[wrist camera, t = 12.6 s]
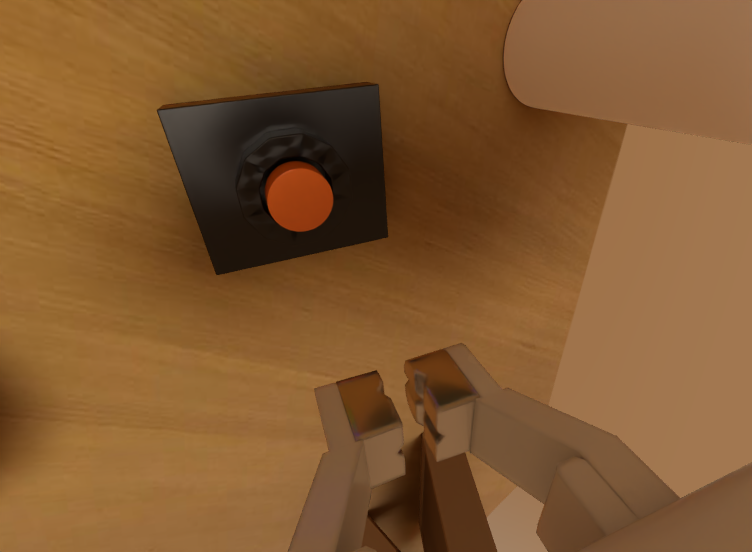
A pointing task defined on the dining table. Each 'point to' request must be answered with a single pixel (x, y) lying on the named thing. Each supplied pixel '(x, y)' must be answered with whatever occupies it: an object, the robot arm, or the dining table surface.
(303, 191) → the timer button
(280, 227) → the button base
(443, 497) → the photo frame
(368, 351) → the dining table surface
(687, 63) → the cup
